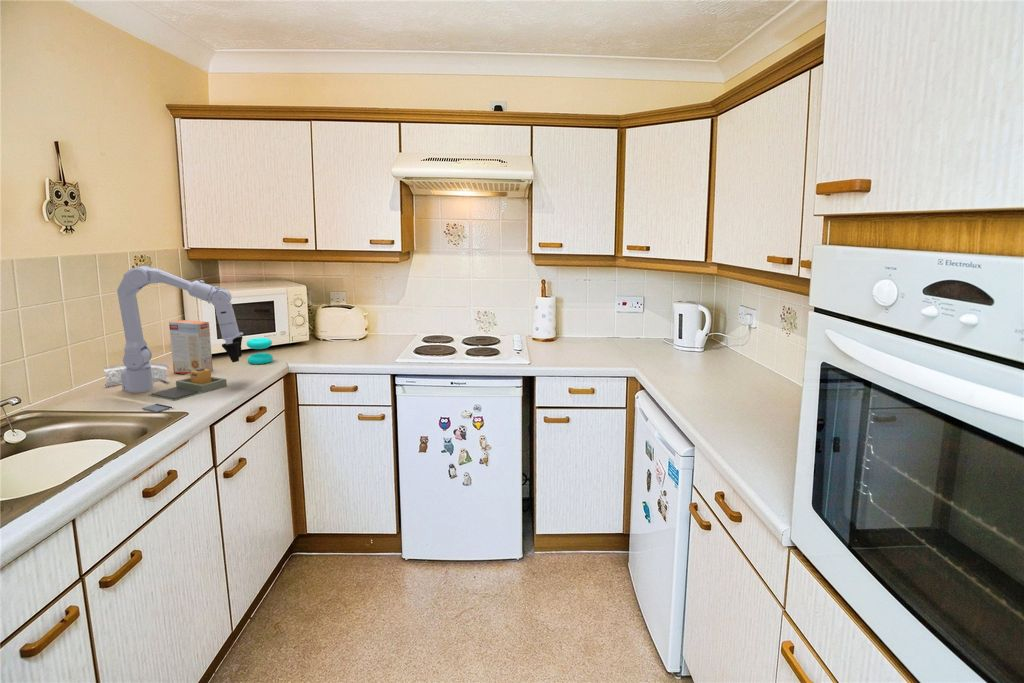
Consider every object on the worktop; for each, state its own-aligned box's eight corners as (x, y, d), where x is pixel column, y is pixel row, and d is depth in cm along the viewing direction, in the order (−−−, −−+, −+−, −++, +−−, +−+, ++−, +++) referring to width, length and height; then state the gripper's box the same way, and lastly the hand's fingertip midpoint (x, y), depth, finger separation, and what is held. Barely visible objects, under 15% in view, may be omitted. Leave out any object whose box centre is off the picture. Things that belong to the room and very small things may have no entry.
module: (191, 387, 204) (189, 369, 203) (204, 384, 209) (202, 366, 208) (199, 389, 203) (197, 371, 201) (212, 385, 207) (210, 368, 206)
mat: (142, 409, 183) (142, 407, 183) (166, 402, 190) (165, 401, 190) (157, 412, 181) (157, 411, 180) (180, 405, 188) (180, 404, 188)
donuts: (252, 342, 239) (242, 339, 245) (253, 366, 241) (244, 362, 247) (275, 339, 246) (265, 336, 252) (277, 362, 248) (267, 358, 254)
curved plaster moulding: (171, 386, 210) (168, 363, 208) (104, 394, 199) (101, 371, 198) (169, 381, 219) (166, 359, 218) (106, 389, 208) (102, 366, 207)
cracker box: (214, 373, 228) (209, 321, 224) (202, 376, 222) (197, 323, 218) (185, 370, 232) (180, 319, 228) (173, 373, 226) (168, 321, 222)
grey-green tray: (148, 398, 195) (147, 388, 194) (201, 383, 213) (200, 374, 212) (175, 403, 190) (174, 393, 189) (227, 388, 208) (226, 379, 207)
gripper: (237, 324, 199) (246, 361, 202) (242, 317, 212) (250, 352, 216) (215, 328, 197) (225, 365, 200) (221, 321, 210) (230, 356, 214)
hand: (237, 359), depth 208 cm, fingers open, 7 cm apart
